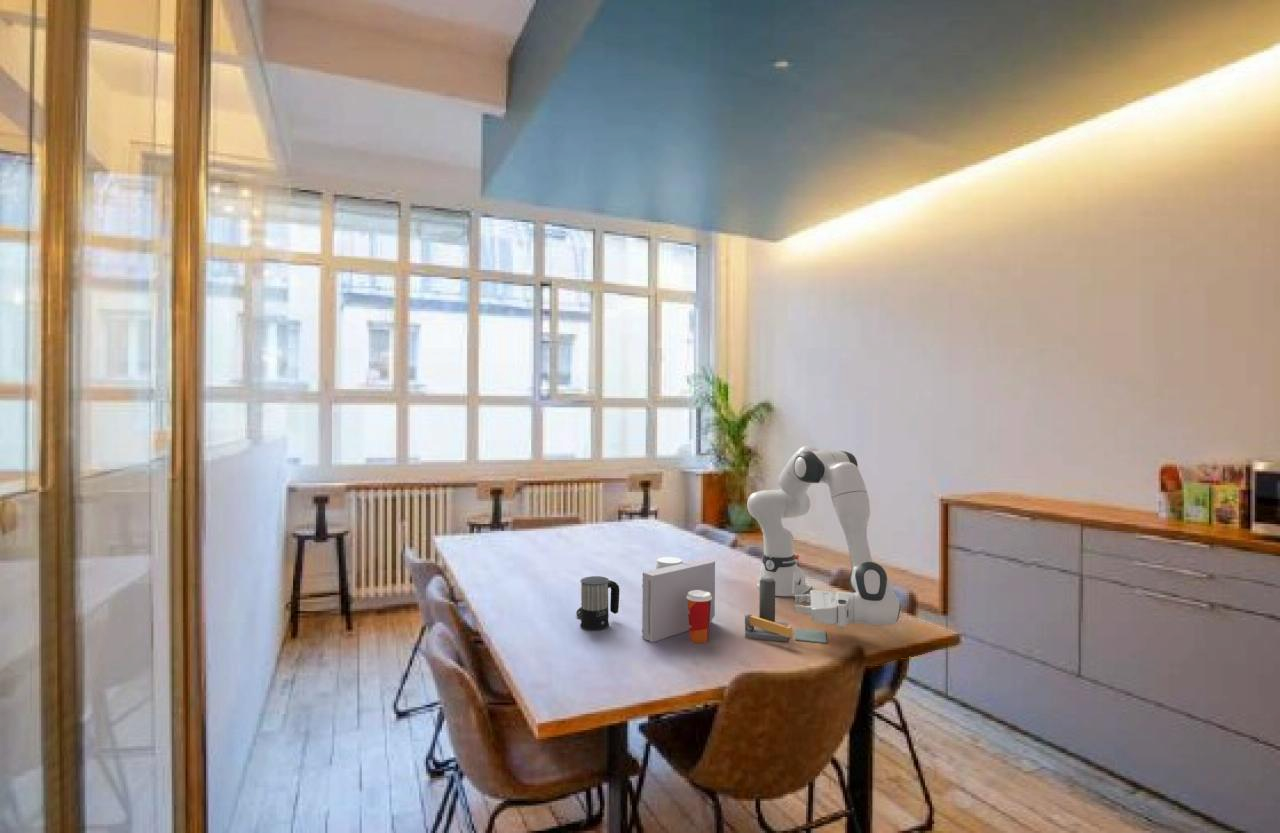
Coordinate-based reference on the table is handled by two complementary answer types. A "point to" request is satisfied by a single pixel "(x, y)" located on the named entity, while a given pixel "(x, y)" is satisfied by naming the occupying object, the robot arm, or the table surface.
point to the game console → (673, 597)
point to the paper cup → (699, 615)
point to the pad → (810, 635)
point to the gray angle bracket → (767, 635)
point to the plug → (766, 602)
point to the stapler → (768, 625)
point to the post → (748, 628)
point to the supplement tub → (667, 562)
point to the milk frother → (597, 602)
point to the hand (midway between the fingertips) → (794, 602)
